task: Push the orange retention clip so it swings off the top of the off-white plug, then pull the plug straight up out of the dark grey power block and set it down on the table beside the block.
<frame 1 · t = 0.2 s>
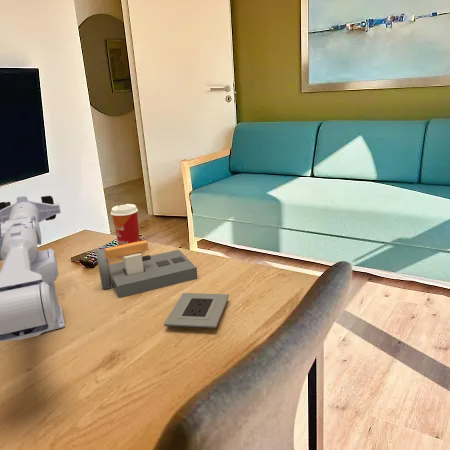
hand: (27, 203, 104), 21 cm above the table, tool horizontal, fingers open, 7 cm apart
power block: (135, 281, 110), on the table
paper cup: (130, 253, 128), on the table
plug: (138, 266, 109), in the power block
electrical outlet: (199, 317, 92), on the table
clip: (124, 264, 107), point 5 cm above the table, hinge at 0.0°
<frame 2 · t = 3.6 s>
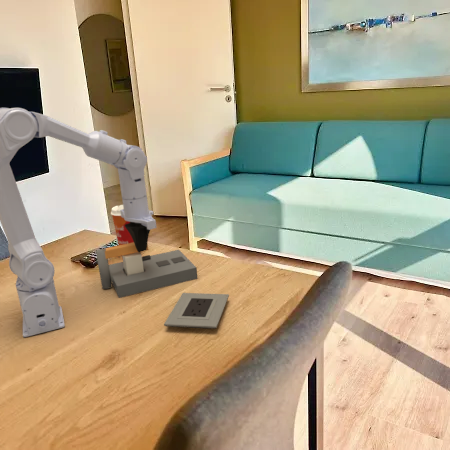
hand: (142, 250, 106), 8 cm above the table, tool pointing down, fingers closed, pressing on clip
clip: (124, 264, 107), point 5 cm above the table, hinge at 0.8°, touching gripper
everything else where it was.
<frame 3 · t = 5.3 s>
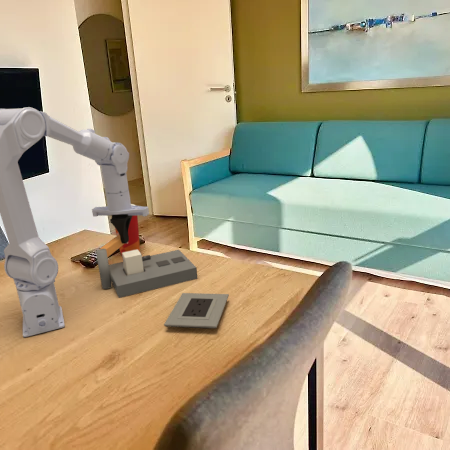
hand: (125, 242, 113), 8 cm above the table, tool pointing down, fingers closed, pressing on clip
clip: (113, 260, 110), point 5 cm above the table, hinge at 52.3°, touching gripper
everything else where it was.
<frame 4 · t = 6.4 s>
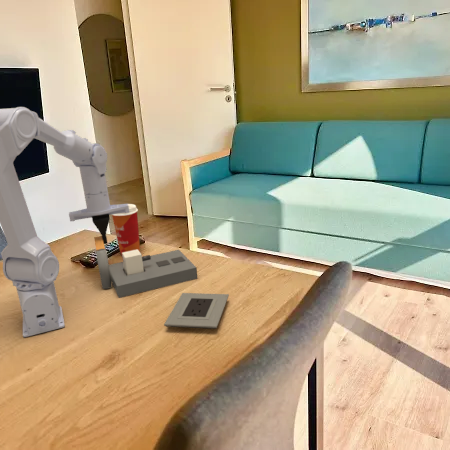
hand: (104, 242, 113), 8 cm above the table, tool pointing down, fingers closed, pressing on clip
clip: (102, 261, 110), point 5 cm above the table, hinge at 85.5°, touching gripper
everything else where it was.
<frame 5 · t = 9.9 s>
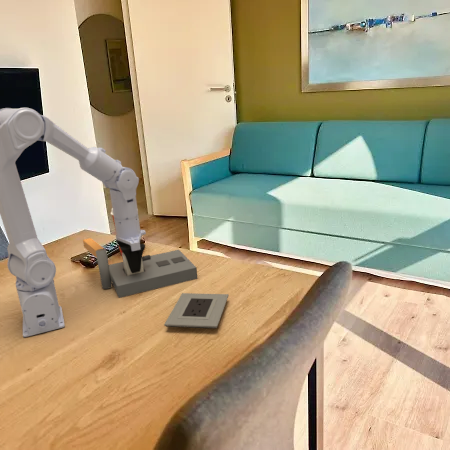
hand: (133, 268, 109), 3 cm above the table, tool pointing down, fingers closed on plug, 4 cm apart
plug: (138, 266, 109), in the power block, touching gripper
clip: (97, 262, 109), point 5 cm above the table, hinge at 100.5°
everything else where it was.
when the fingers open (5 cm above the table, at t = 13.8 s): plug drops 1 cm, on the table.
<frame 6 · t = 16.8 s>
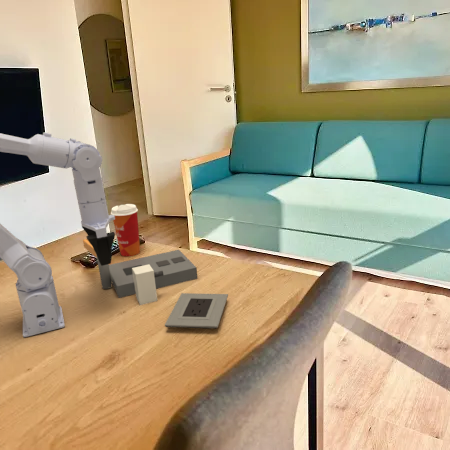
hand: (103, 258, 98), 10 cm above the table, tool pointing down, fingers open, 7 cm apart
plug: (149, 283, 99), on the table
everything else where it was.
at the end: clip at +100° (first picture: +0°); plug inside the target area (0.1 cm from its centre), on the table; plug tilted 0° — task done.
